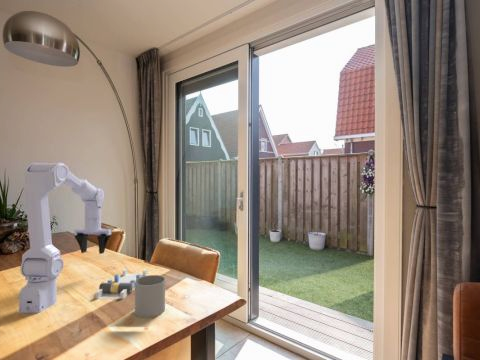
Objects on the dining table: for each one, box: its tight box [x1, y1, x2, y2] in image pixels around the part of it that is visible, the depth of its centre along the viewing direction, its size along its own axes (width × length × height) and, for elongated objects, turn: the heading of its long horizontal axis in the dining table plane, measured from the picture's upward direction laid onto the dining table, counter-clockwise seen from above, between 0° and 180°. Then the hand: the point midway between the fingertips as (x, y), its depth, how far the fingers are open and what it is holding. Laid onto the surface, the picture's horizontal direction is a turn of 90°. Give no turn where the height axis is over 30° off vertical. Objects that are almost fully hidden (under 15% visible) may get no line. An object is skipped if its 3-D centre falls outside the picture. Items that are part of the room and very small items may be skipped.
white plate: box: [94, 268, 149, 300], centre depth 103 cm, size 24×9×4 cm, turn 0°
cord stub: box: [98, 282, 133, 294], centre depth 96 cm, size 10×3×3 cm, turn 90°
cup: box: [134, 274, 166, 319], centre depth 83 cm, size 8×8×10 cm
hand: (92, 252), depth 113 cm, fingers open, 7 cm apart
